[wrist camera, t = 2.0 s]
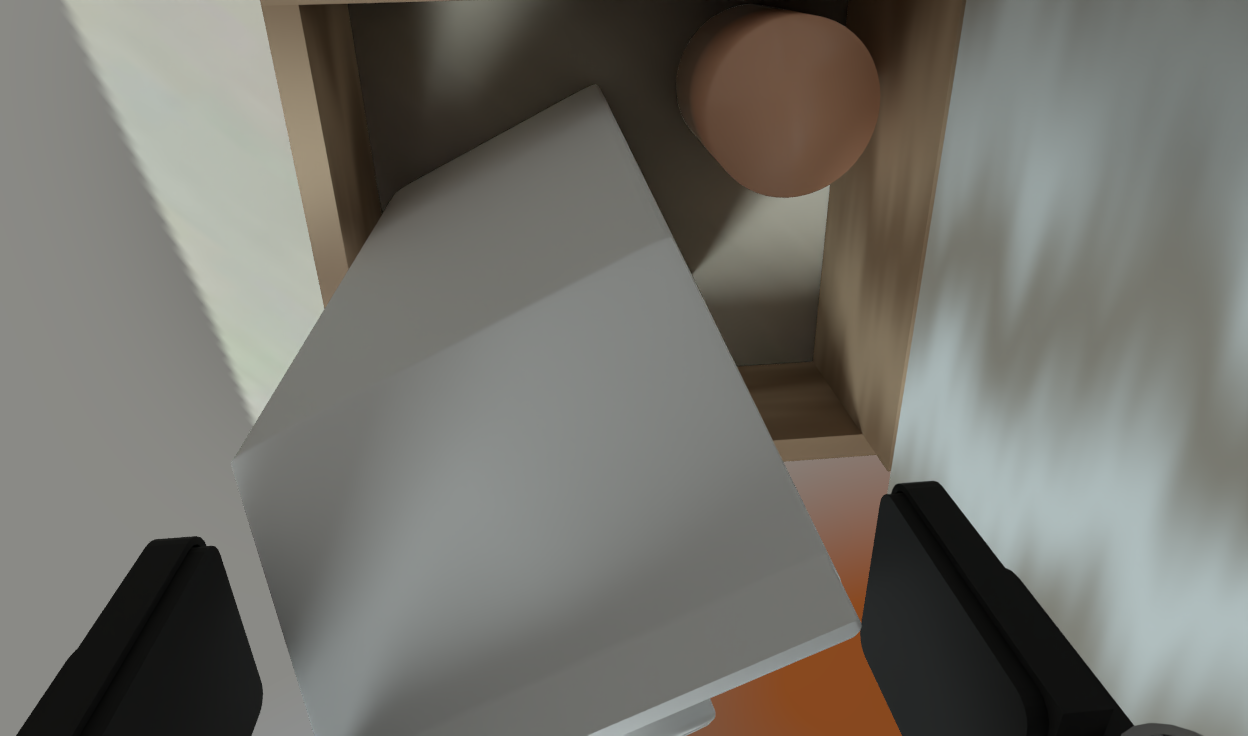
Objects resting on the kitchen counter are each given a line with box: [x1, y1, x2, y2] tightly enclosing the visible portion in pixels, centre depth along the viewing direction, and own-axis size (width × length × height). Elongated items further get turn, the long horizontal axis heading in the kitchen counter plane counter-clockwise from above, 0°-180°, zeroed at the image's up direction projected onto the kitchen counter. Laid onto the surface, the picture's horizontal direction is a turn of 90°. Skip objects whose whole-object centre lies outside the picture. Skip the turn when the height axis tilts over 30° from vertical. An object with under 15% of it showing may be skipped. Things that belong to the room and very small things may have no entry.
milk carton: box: [231, 85, 862, 736], centre depth 17 cm, size 7×7×19 cm
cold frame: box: [260, 0, 1248, 736], centre depth 16 cm, size 14×19×22 cm
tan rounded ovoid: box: [676, 4, 880, 198], centre depth 22 cm, size 4×4×5 cm
